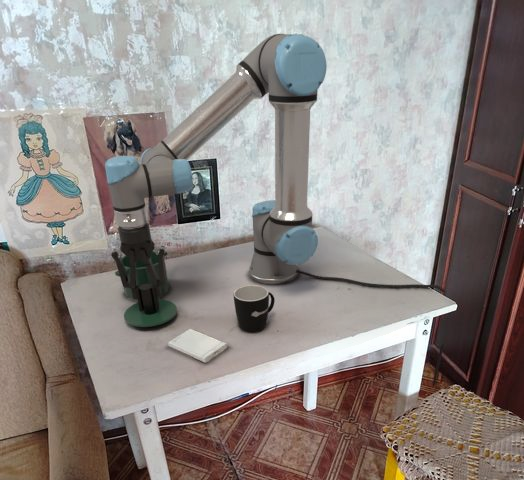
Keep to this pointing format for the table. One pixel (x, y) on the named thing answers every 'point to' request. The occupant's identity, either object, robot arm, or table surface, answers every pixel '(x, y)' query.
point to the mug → (252, 307)
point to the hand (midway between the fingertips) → (149, 308)
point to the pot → (144, 273)
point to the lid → (149, 310)
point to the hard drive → (198, 345)
